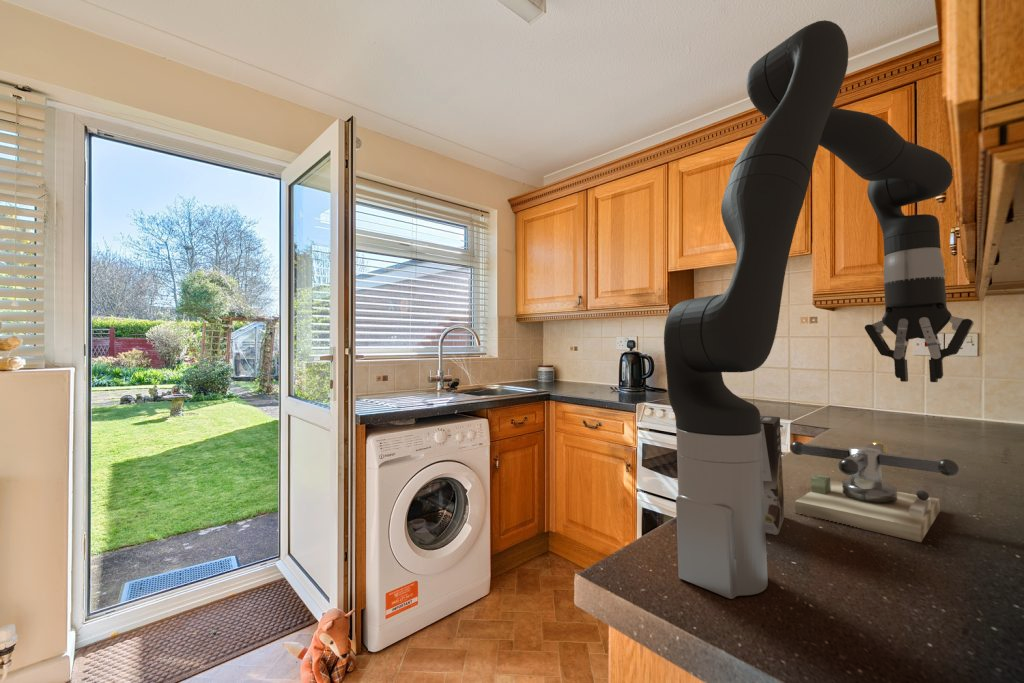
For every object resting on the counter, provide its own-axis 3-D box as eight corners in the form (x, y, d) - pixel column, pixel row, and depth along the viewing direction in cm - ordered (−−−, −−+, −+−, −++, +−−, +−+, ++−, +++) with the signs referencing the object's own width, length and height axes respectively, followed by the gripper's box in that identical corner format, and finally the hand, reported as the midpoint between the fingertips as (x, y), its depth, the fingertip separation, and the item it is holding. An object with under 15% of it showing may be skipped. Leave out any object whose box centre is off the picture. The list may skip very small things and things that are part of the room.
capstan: (952, 535, 55) (948, 474, 56) (768, 496, 72) (766, 449, 72) (969, 498, 69) (966, 449, 69) (811, 472, 86) (809, 433, 86)
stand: (920, 542, 59) (919, 509, 59) (795, 513, 70) (794, 486, 71) (939, 511, 70) (938, 483, 70) (829, 490, 82) (828, 467, 82)
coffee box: (780, 536, 62) (775, 423, 62) (730, 526, 66) (726, 420, 66) (786, 517, 69) (781, 415, 70) (741, 509, 73) (737, 413, 74)
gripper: (855, 283, 76) (860, 381, 75) (971, 269, 65) (979, 384, 64) (865, 287, 81) (870, 379, 80) (976, 274, 70) (983, 381, 69)
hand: (919, 381), depth 72 cm, fingers open, 3 cm apart
